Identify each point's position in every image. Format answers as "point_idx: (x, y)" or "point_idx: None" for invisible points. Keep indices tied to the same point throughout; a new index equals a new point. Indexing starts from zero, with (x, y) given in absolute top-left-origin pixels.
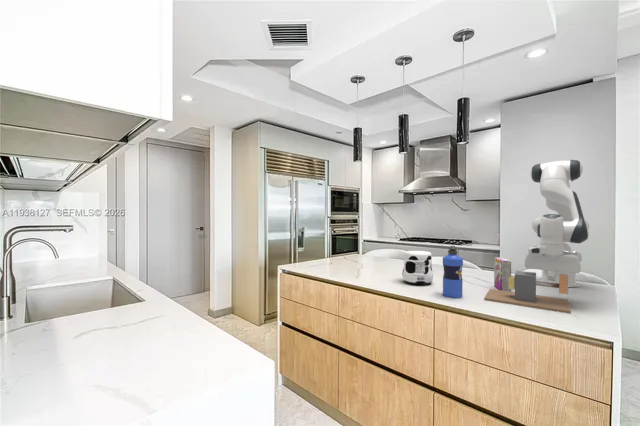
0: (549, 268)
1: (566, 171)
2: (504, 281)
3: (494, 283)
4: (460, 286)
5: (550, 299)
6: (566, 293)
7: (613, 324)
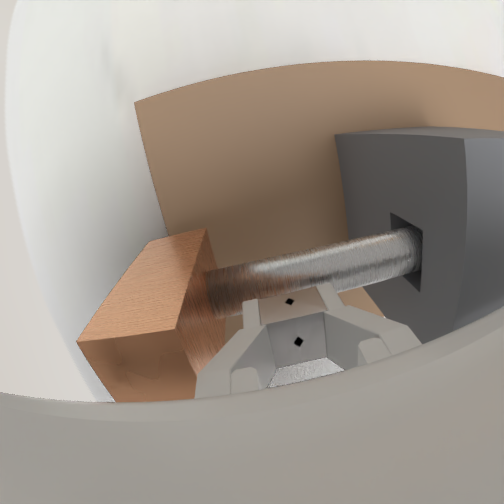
0: (372, 394)
1: None
2: None
3: None
4: None
5: None
6: (156, 241)
7: (6, 104)
